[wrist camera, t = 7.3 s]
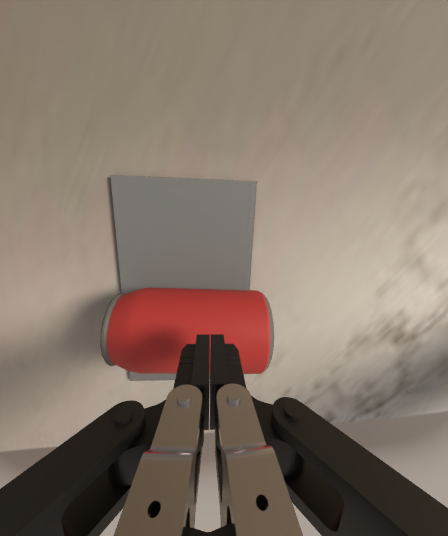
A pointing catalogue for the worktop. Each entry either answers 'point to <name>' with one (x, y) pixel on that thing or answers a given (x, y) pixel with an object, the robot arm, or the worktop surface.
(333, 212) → the worktop surface
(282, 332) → the worktop surface
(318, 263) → the worktop surface
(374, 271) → the worktop surface
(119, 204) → the slate mat
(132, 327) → the beer can
